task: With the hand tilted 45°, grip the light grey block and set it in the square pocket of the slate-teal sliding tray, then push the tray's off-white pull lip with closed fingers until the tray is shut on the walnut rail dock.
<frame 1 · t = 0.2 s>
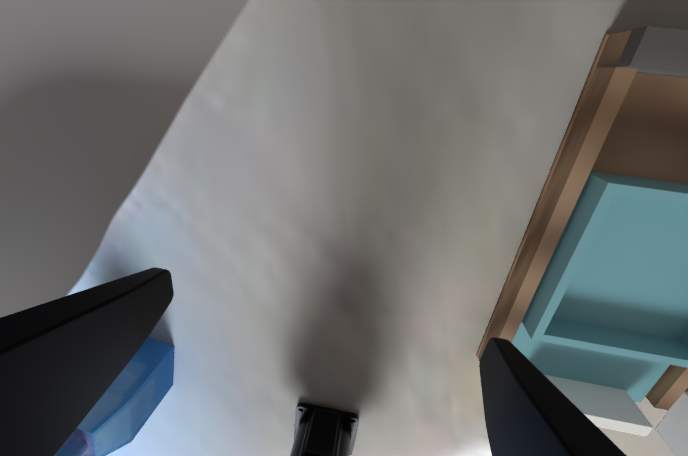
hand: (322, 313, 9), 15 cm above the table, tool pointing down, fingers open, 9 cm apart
perfume bottle: (147, 355, 34), on the table
tray: (628, 315, 21), point 2 cm above the table, slide at 5.0 cm
dock: (667, 189, 19), on the table
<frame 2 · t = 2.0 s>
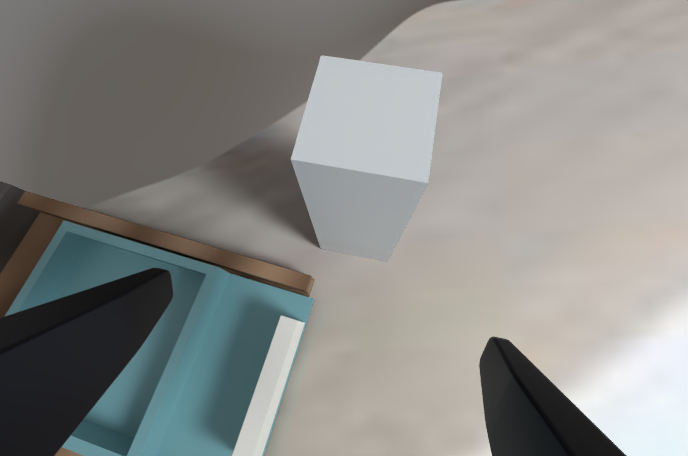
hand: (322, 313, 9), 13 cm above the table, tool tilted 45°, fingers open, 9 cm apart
tray: (147, 346, 19), point 2 cm above the table, slide at 5.0 cm
light grey block: (360, 223, 24), on the table
dock: (67, 310, 22), on the table
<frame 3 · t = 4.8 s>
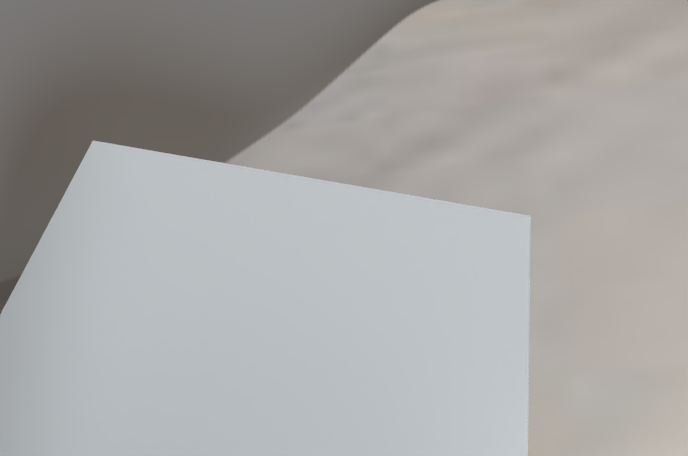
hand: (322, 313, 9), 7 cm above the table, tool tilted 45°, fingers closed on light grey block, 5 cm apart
light grey block: (327, 354, 15), on the table, touching gripper
when the fingers open (8 cm above the table, at t = 10.5 s): light grey block stays where it is, resting on tray.
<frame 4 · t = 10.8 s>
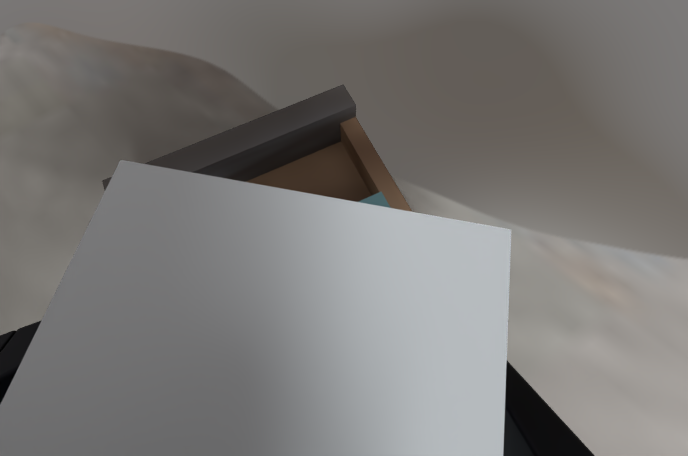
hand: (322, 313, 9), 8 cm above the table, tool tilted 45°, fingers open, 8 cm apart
tray: (356, 423, 13), point 2 cm above the table, slide at 5.0 cm, touching light grey block
light grey block: (328, 353, 15), point 1 cm above the table, touching tray
dock: (292, 265, 18), on the table
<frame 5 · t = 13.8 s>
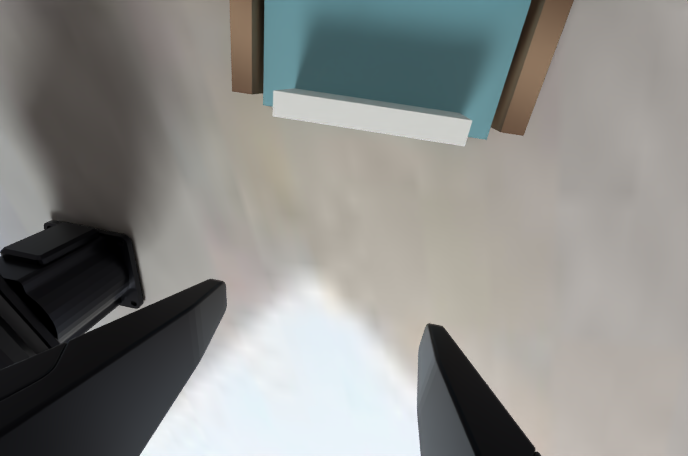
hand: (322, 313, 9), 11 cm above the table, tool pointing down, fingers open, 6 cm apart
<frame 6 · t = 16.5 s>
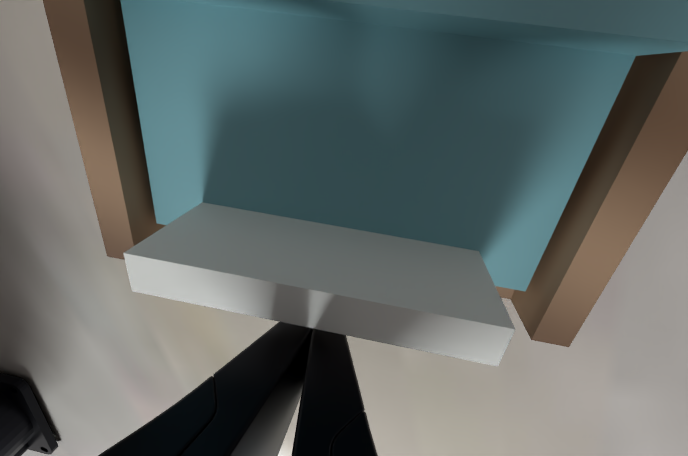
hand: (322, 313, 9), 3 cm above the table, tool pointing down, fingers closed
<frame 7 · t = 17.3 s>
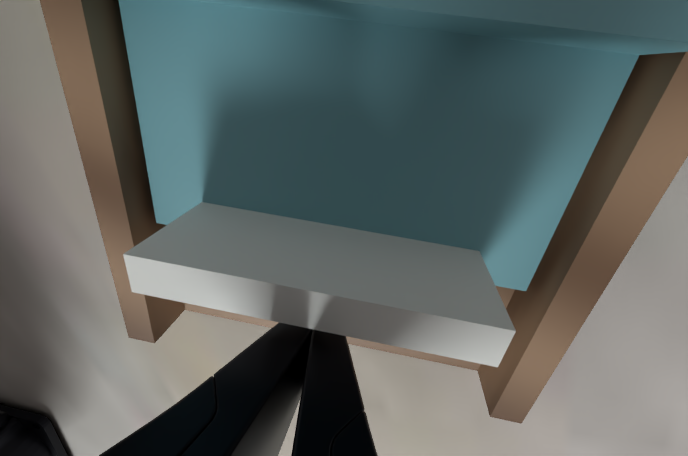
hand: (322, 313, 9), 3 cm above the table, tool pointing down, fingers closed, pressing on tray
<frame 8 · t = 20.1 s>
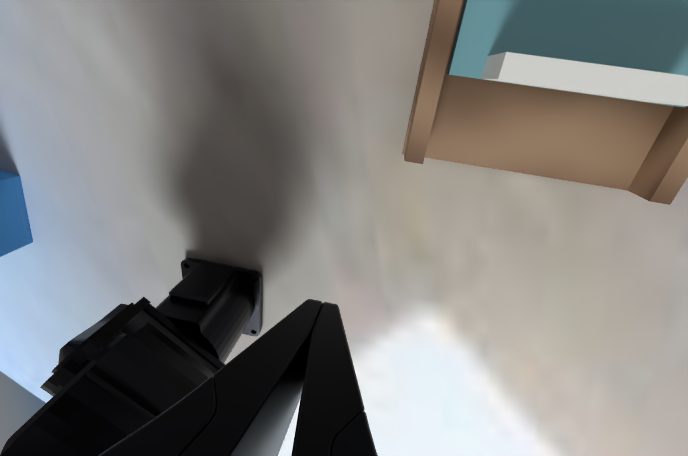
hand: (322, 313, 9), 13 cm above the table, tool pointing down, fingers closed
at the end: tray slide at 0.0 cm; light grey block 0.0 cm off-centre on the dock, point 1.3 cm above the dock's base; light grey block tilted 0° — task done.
